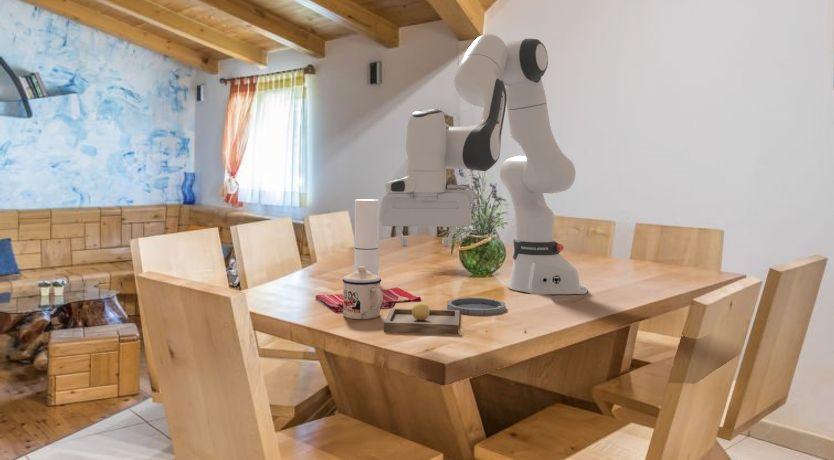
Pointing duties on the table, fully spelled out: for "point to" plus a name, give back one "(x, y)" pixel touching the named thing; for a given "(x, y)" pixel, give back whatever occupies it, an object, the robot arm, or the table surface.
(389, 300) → the dish towel
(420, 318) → the ball
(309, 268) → the table surface
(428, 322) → the tray
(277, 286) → the table surface
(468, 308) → the dish
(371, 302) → the teacup with lid
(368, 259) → the cylindrical container
